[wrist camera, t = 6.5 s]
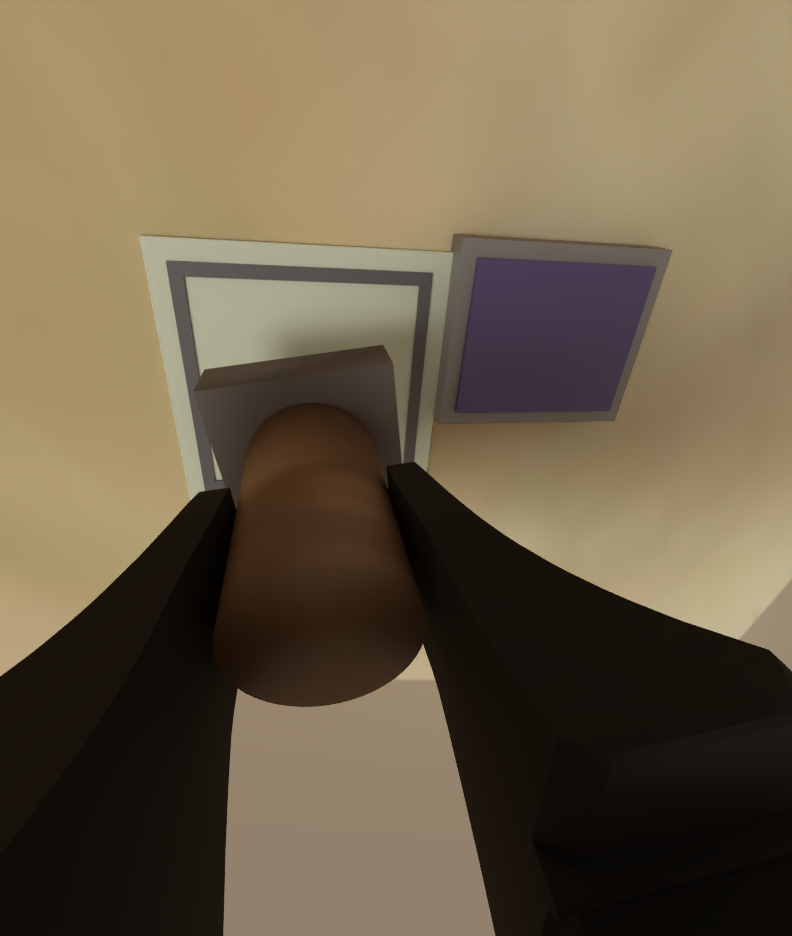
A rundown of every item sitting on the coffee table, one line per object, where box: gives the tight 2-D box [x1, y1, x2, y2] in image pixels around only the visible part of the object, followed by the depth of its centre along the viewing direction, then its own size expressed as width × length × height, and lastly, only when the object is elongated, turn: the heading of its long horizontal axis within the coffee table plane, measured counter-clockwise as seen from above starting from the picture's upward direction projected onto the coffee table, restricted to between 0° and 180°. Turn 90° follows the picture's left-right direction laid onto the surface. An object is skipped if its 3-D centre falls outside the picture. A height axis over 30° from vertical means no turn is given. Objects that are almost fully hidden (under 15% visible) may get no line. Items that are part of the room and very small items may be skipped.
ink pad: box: [434, 234, 672, 424], centre depth 16 cm, size 7×6×1 cm
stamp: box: [193, 345, 427, 707], centre depth 10 cm, size 4×4×7 cm
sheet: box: [139, 235, 453, 501], centre depth 16 cm, size 9×9×1 cm
